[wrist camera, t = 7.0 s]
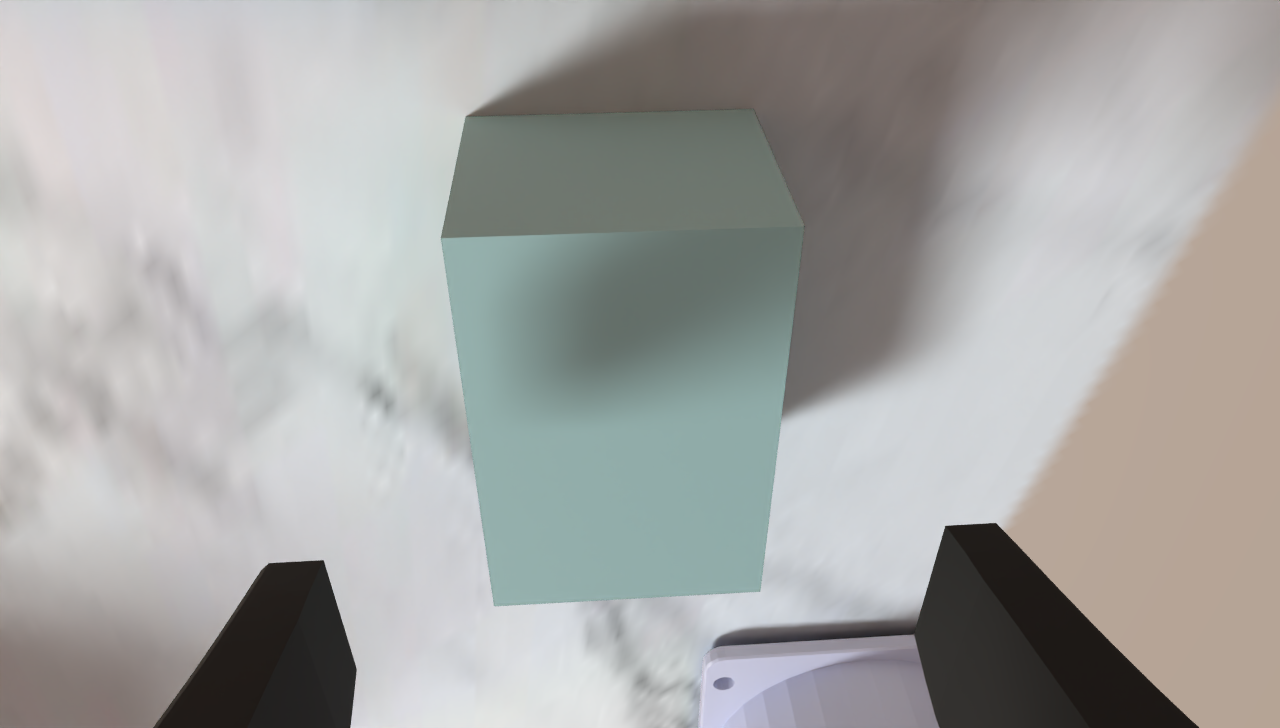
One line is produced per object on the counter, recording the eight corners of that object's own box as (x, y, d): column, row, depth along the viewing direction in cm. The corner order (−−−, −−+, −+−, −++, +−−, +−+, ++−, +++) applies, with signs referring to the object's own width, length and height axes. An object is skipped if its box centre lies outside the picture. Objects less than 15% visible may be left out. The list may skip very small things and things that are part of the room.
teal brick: (726, 435, 19) (760, 591, 16) (505, 445, 19) (494, 605, 16) (751, 105, 15) (804, 226, 12) (466, 112, 15) (440, 238, 11)
